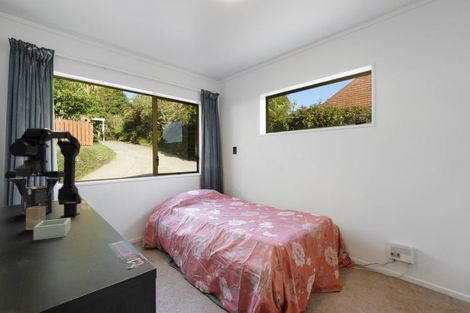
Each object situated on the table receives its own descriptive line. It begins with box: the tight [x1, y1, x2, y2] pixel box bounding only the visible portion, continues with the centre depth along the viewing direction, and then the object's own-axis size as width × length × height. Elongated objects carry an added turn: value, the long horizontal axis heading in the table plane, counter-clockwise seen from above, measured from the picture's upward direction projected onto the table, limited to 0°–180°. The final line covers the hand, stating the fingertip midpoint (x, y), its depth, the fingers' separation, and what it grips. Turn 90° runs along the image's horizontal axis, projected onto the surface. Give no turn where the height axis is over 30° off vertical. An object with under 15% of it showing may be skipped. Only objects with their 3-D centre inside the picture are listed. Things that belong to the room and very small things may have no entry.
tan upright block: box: [25, 207, 47, 231], centre depth 97 cm, size 4×5×9 cm
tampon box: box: [21, 185, 53, 216], centre depth 121 cm, size 11×9×15 cm
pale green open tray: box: [33, 217, 72, 241], centre depth 89 cm, size 10×10×5 cm
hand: (35, 195), depth 91 cm, fingers open, 9 cm apart
